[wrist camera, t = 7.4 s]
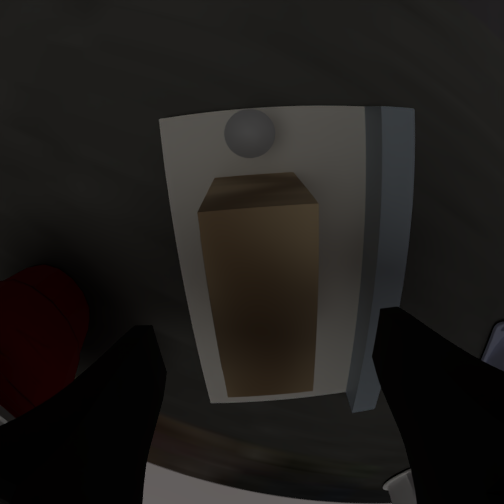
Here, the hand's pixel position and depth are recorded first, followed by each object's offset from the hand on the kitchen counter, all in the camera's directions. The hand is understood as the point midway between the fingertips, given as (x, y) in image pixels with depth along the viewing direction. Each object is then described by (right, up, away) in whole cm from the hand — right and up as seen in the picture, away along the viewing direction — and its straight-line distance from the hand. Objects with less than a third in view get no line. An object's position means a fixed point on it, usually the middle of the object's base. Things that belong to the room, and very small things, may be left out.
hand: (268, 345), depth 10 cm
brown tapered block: (0, +3, +6) cm, 7 cm away
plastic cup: (-13, 0, +9) cm, 16 cm away
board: (+1, +1, +8) cm, 8 cm away
